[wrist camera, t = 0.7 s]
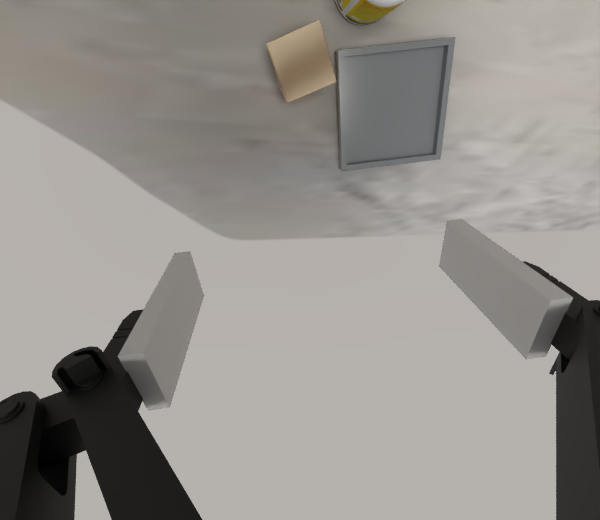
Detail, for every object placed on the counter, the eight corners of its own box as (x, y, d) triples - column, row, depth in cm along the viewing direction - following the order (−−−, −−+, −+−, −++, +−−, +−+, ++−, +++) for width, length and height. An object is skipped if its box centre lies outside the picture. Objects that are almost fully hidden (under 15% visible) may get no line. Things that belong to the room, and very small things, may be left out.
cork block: (267, 50, 31) (266, 43, 27) (312, 29, 31) (319, 19, 26) (285, 101, 34) (287, 102, 29) (327, 83, 33) (336, 81, 29)
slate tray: (335, 51, 32) (338, 50, 30) (447, 39, 32) (455, 37, 31) (339, 168, 38) (341, 171, 36) (434, 156, 38) (440, 159, 37)
